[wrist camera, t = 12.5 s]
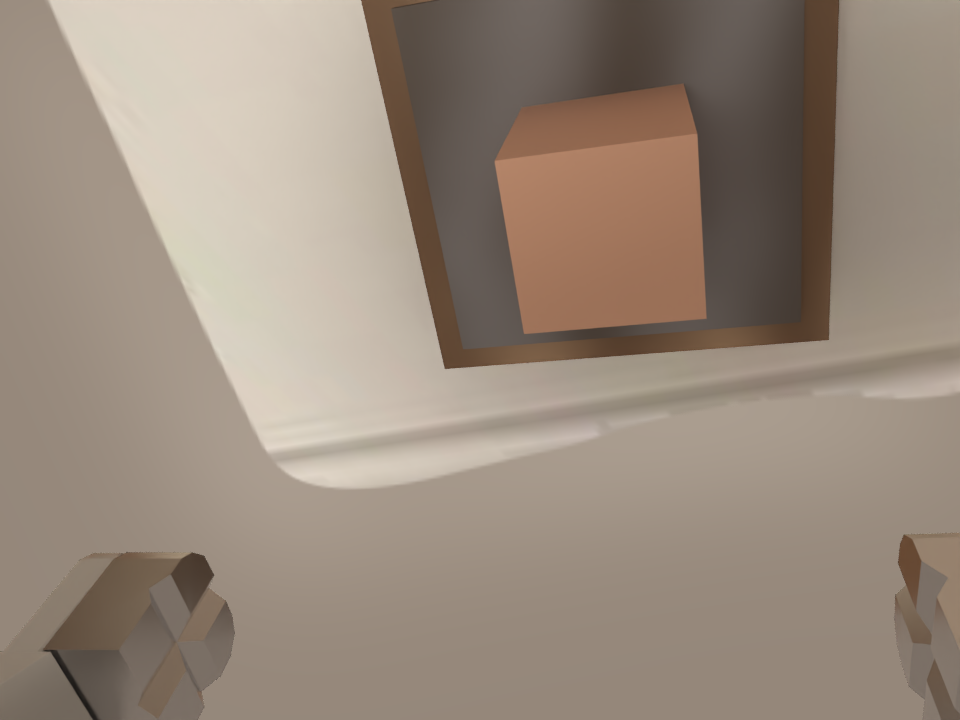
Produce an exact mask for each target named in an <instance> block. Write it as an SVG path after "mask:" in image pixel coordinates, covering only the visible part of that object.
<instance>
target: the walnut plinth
mask: <svg viewBox="0 0 960 720" xmlns="http://www.w3.org/2000/svg"><path fill="white" fill-rule="evenodd" d="M361 1H362V6H363V10H364V15H365V19H366V23H367V28H368V32H369V37H370V41H371V45H372V50H373V54H374V59H375V63H376V67H377V72H378V76H379V81H380V85H381V89H382V94H383V98H384V103H385V107H386V111H387V116H388V120H389V125H390V129H391V133H392V138H393V142H394V147H395V151H396V155H397V160H398V164H399V169H400V173H401V177H402V182H403V186H404V191H405V195H406V200H407V204H408V208H409V213H410V217H411V222H412V226H413V230H414V235H415V239H416V244H417V248H418V252H419V257H420V261H421V266H422V270H423V274H424V279H425V283H426V288H427V292H428V296H429V301H430V305H431V310H432V314H433V318H434V323H435V327H436V332H437V336H438V340H439V345H440V349H441V354H442V358H443V362H444V367H445V369H450V368H463V367H476V366H489V365H503V364H516V363H529V362H542V361H556V360H569V359H582V358H596V357H609V356H622V355H635V354H649V353H662V352H675V351H688V350H702V349H715V348H728V347H741V346H755V345H768V344H781V343H794V342H808V341H821V340H829V313H830V280H831V247H832V214H833V181H834V148H835V115H836V83H837V50H838V17H839V0H361ZM683 83H684V87H685V91H686V94H687V98H688V102H689V105H690V109H691V112H692V116H693V120H694V123H695V127H696V131H697V137H698V157H699V177H700V197H701V217H702V237H703V257H704V277H705V297H706V317H707V319H697V320H686V321H674V322H662V323H650V324H638V325H626V326H614V327H602V328H590V329H578V330H566V331H554V332H543V333H531V334H524V331H523V325H522V319H521V313H520V308H519V302H518V296H517V290H516V284H515V278H514V272H513V267H512V261H511V255H510V249H509V243H508V237H507V231H506V225H505V220H504V214H503V208H502V202H501V196H500V190H499V184H498V178H497V173H496V167H495V159H496V157H497V155H498V153H499V151H500V149H501V147H502V145H503V143H504V141H505V139H506V137H507V135H508V133H509V132H510V130H511V128H512V126H513V124H514V122H515V120H516V118H517V116H518V114H519V112H520V110H521V108H522V107H528V106H535V105H542V104H549V103H555V102H562V101H569V100H576V99H582V98H589V97H596V96H603V95H609V94H616V93H623V92H629V91H636V90H643V89H650V88H656V87H663V86H670V85H677V84H683Z"/></svg>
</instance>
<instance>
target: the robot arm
mask: <svg viewBox="0 0 960 720" xmlns="http://www.w3.org/2000/svg"><path fill="white" fill-rule="evenodd" d="M898 564H899V567H900V569H901V572H902V575H903V578H904V580H905V583H906V586H904V587H903V588H902V589H901V590H900V591H899V592H898V593H897V594H896V595H895V616H894V617H895V618H894V620H895V630H896V640H897V647H898V651H899V655H900V659H901V664H902V667H903V670H904V673H905V676H906V679H907V683H908V685H909V687H910V688H911V689H913V690H914V691H915V692H916V693H917V694H919V695H920V696H921V697H922V698H924V700H925V701H924V712H923V720H960V533H934V534H933V533H932V534H904V535H903V538H902V541H901V543H900V549H899V559H898ZM213 577H214V574H213V572H212V570H211V568H210V566H209V564H208V562H207V560H206V558H205V556H203V555H200V554H196V553H193V552H126V553H93V554H90V555H88V556H86V557H84V558H82V559H80V560H79V561H78V562H77V564H76V565H75V566H74V567H73V568H72V570H71V571H70V572H69V573H68V575H67V576H66V577H65V578H64V579H63V580H62V581H61V583H60V584H59V585H58V586H57V588H56V589H55V590H54V591H53V592H52V593H51V595H50V596H49V597H48V598H47V599H46V601H45V602H44V603H43V604H42V605H41V607H40V608H39V609H38V610H37V611H36V612H35V614H34V615H33V616H32V617H31V619H30V620H29V621H28V622H27V623H26V625H25V626H24V627H23V628H22V629H21V631H20V632H19V633H18V634H17V635H16V636H15V638H14V639H13V640H12V641H11V642H10V643H9V645H8V646H7V647H6V648H5V650H4V651H0V720H198V718H199V716H200V715H201V713H202V710H203V709H204V702H203V697H202V690H204V689H205V688H206V687H208V686H209V685H210V684H211V683H213V682H214V681H215V680H217V679H218V678H219V677H220V676H221V674H222V673H223V671H224V669H225V666H226V665H227V663H228V660H229V658H230V656H231V651H232V645H233V640H234V634H235V632H234V625H233V617H232V614H231V612H230V609H229V607H228V604H227V602H226V601H225V600H224V599H223V598H222V597H220V596H219V595H218V594H216V593H215V592H214V591H212V590H211V589H210V588H209V587H210V585H211V582H212V580H213Z"/></svg>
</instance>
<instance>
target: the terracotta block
mask: <svg viewBox="0 0 960 720" xmlns="http://www.w3.org/2000/svg"><path fill="white" fill-rule="evenodd" d="M495 167H496V173H497V178H498V184H499V190H500V196H501V202H502V208H503V214H504V220H505V225H506V231H507V237H508V243H509V249H510V255H511V261H512V267H513V272H514V278H515V284H516V290H517V296H518V302H519V308H520V313H521V319H522V325H523V331H524V334H531V333H543V332H554V331H566V330H578V329H590V328H602V327H614V326H626V325H638V324H650V323H662V322H674V321H686V320H697V319H707V317H706V297H705V277H704V257H703V237H702V217H701V197H700V177H699V157H698V137H697V131H696V127H695V123H694V120H693V116H692V112H691V109H690V105H689V102H688V98H687V94H686V91H685V87H684V83H683V84H677V85H670V86H663V87H656V88H650V89H643V90H636V91H629V92H623V93H616V94H609V95H603V96H596V97H589V98H582V99H576V100H569V101H562V102H555V103H549V104H542V105H535V106H528V107H522V108H521V110H520V112H519V114H518V116H517V118H516V120H515V122H514V124H513V126H512V128H511V130H510V132H509V133H508V135H507V137H506V139H505V141H504V143H503V145H502V147H501V149H500V151H499V153H498V155H497V157H496V159H495Z"/></svg>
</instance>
